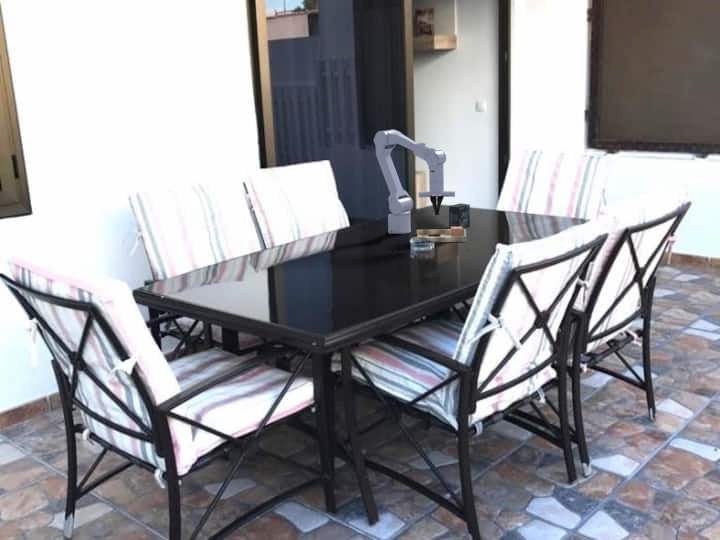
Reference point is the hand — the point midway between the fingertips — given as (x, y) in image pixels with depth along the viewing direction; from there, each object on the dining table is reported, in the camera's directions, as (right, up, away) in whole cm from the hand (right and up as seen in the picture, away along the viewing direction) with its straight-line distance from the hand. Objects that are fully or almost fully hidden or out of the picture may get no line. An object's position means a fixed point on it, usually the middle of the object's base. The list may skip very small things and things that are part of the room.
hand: (437, 214), depth 298 cm
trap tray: (+1, -11, -2) cm, 11 cm away
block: (+8, -9, -3) cm, 13 cm away
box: (+12, -5, +19) cm, 23 cm away
